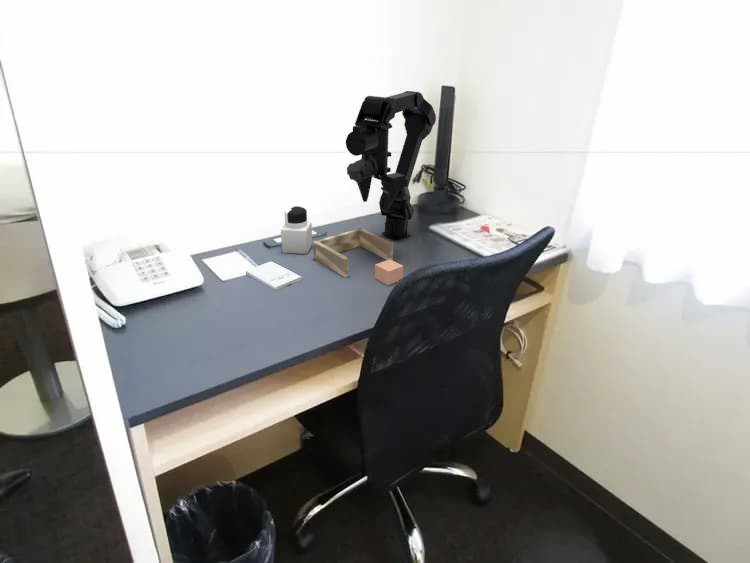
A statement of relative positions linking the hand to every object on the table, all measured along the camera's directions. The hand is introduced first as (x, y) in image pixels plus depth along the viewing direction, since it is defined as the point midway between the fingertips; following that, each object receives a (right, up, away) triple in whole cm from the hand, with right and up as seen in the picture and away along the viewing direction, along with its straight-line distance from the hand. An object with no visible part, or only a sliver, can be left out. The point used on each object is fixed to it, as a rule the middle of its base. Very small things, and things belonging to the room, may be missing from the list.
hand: (375, 205), depth 131 cm
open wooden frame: (-6, -15, 0) cm, 16 cm away
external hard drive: (-26, -20, -10) cm, 34 cm away
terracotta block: (+3, -20, -10) cm, 23 cm away
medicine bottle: (-22, -11, +6) cm, 26 cm away
